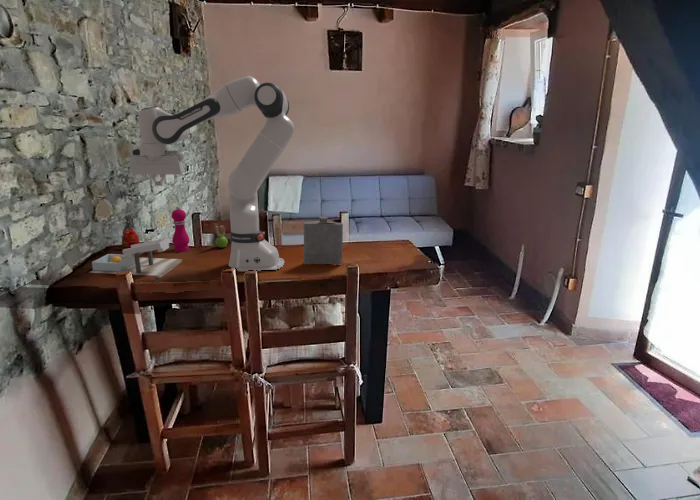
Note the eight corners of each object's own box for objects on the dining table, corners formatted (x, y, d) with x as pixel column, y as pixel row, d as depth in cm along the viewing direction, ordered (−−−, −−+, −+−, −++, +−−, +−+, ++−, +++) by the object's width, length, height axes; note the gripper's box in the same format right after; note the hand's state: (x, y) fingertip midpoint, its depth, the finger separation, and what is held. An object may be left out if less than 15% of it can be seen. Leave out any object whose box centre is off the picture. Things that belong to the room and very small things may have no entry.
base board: (182, 261, 184) (180, 241, 182) (159, 278, 165) (157, 256, 163) (118, 258, 186) (116, 239, 183) (89, 275, 166) (85, 253, 164)
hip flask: (303, 264, 184) (303, 217, 179) (304, 261, 188) (304, 215, 183) (341, 265, 185) (343, 218, 179) (342, 262, 188) (343, 216, 183)
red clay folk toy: (118, 249, 198) (114, 216, 193) (132, 246, 204) (128, 214, 200) (130, 252, 194) (126, 219, 190) (144, 248, 200) (140, 216, 196)
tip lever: (181, 239, 182) (178, 231, 181) (161, 252, 166) (158, 242, 165) (146, 247, 184) (143, 238, 183) (123, 259, 167) (120, 250, 166)
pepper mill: (184, 252, 196) (180, 208, 190) (169, 251, 197) (165, 207, 192) (193, 248, 203) (190, 205, 197) (179, 247, 204) (175, 204, 198)
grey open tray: (135, 263, 177) (134, 255, 176) (120, 272, 167) (119, 263, 166) (109, 262, 178) (108, 254, 177) (93, 271, 168) (91, 262, 167)
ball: (112, 256, 173) (116, 265, 175) (106, 259, 170) (110, 268, 171) (121, 253, 173) (125, 263, 174) (115, 256, 169) (120, 266, 170)
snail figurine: (212, 248, 203) (210, 223, 200) (220, 245, 209) (219, 220, 205) (221, 250, 201) (220, 224, 198) (230, 246, 207) (229, 221, 204)
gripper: (184, 149, 177) (188, 184, 181) (133, 149, 178) (138, 184, 182) (177, 151, 171) (181, 187, 175) (125, 151, 172) (130, 186, 176)
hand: (159, 185), depth 179 cm, fingers closed
